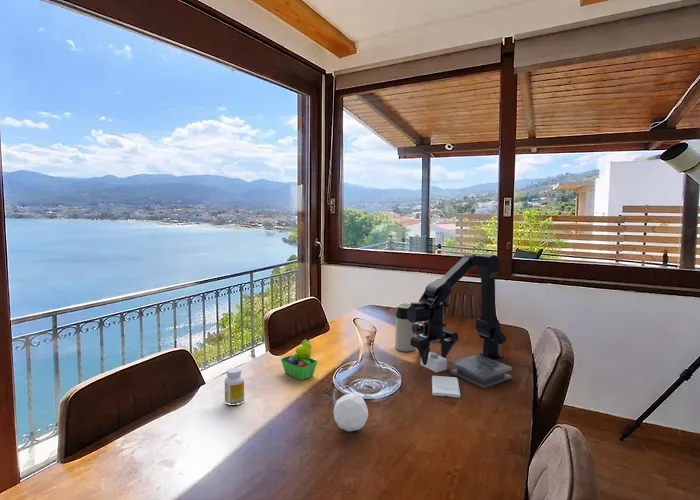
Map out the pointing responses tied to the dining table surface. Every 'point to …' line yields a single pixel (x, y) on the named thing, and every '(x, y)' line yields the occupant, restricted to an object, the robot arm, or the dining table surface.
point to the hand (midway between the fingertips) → (434, 362)
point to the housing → (435, 362)
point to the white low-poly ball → (350, 412)
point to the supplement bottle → (234, 386)
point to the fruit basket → (300, 362)
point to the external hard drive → (445, 386)
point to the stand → (481, 370)
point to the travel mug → (403, 329)
